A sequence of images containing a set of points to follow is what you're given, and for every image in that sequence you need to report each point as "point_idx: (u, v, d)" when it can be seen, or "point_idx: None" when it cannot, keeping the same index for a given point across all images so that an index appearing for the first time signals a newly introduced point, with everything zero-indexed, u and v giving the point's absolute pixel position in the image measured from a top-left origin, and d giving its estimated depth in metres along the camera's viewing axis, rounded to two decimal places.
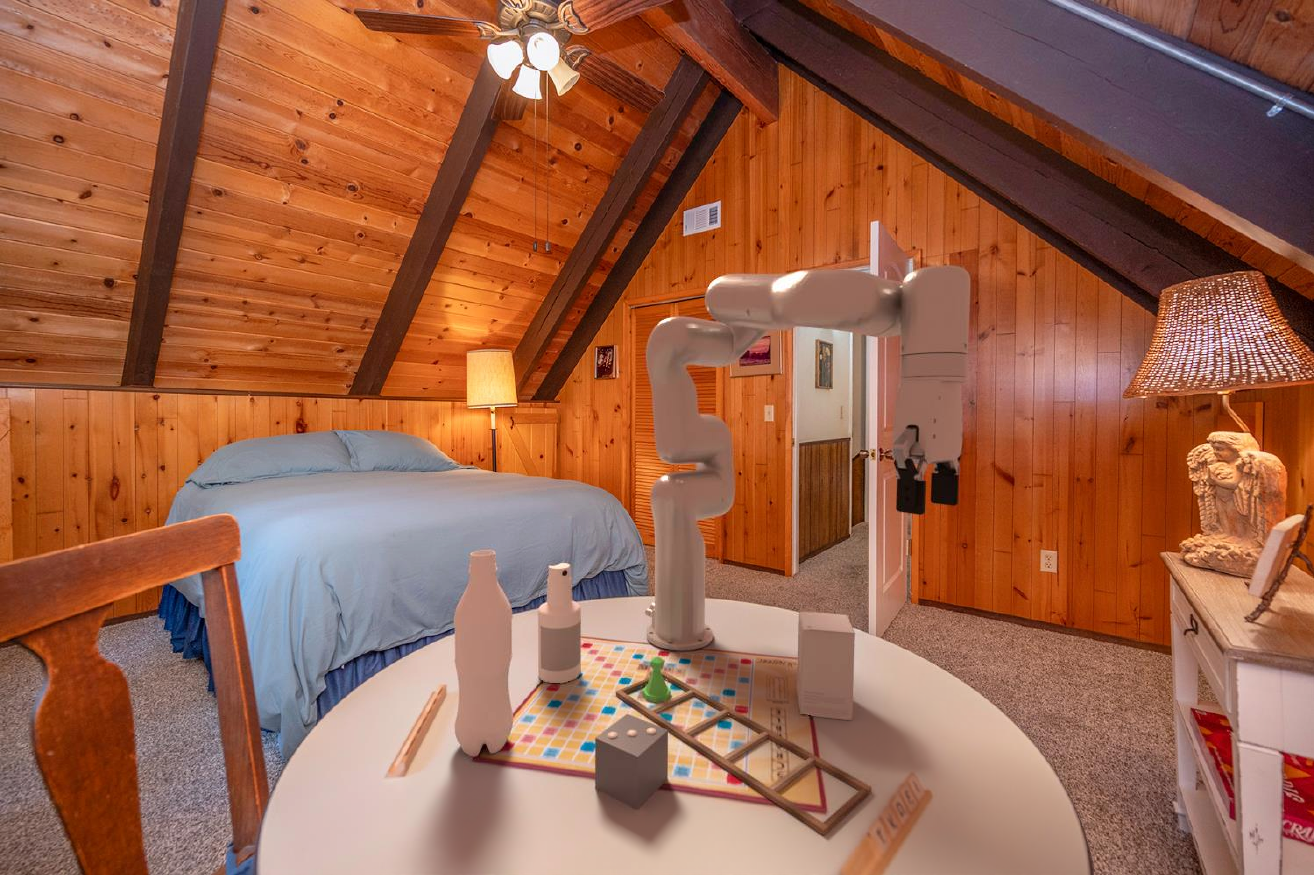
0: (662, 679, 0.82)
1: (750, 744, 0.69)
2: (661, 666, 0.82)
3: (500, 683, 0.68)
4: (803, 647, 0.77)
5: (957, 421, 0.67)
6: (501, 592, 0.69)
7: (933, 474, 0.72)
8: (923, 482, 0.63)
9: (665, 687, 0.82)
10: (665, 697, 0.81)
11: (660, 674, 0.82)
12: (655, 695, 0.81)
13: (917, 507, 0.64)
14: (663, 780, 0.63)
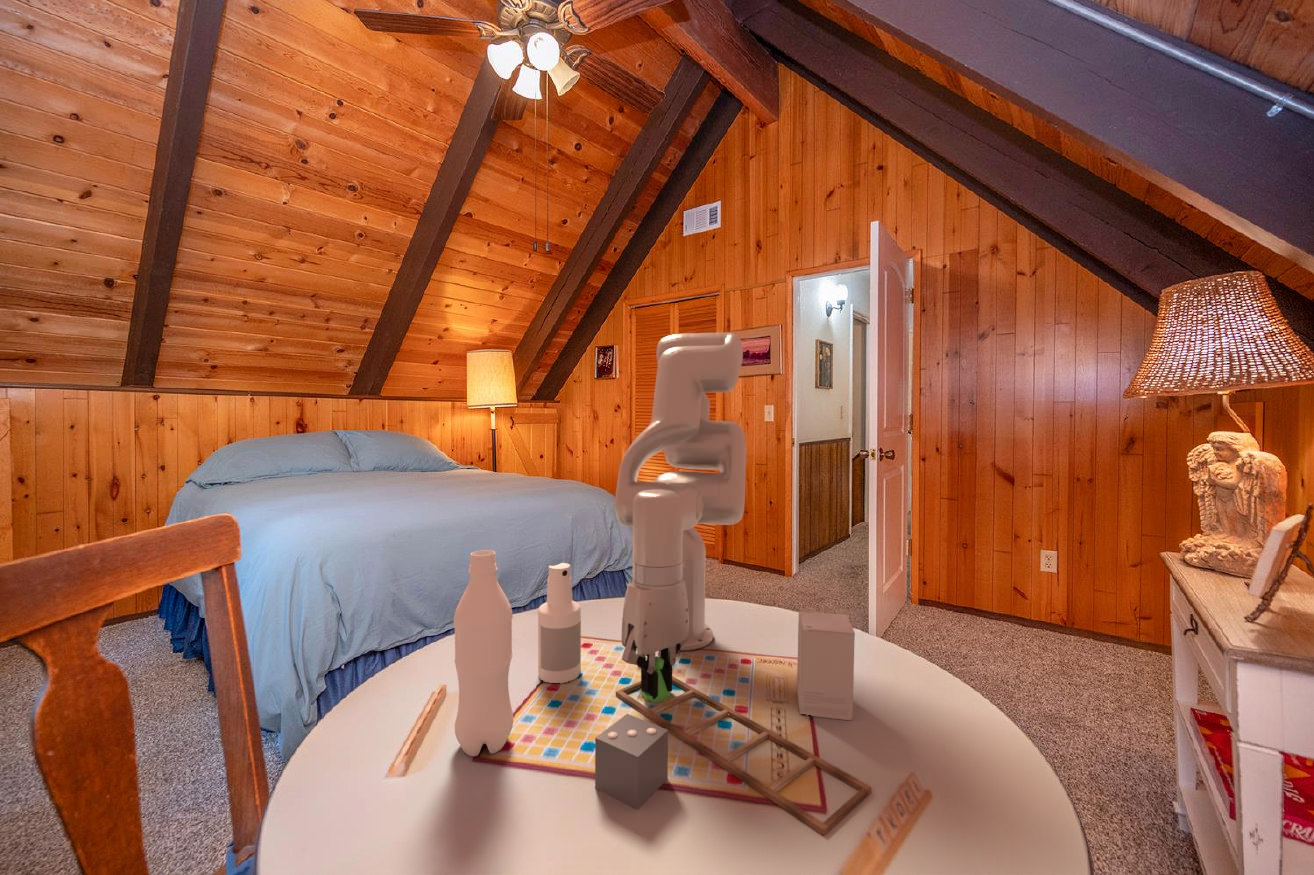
0: (662, 679, 0.82)
1: (750, 744, 0.69)
2: (661, 666, 0.81)
3: (500, 683, 0.68)
4: (803, 647, 0.77)
5: (676, 614, 0.81)
6: (501, 592, 0.69)
7: None
8: (654, 674, 0.80)
9: (665, 687, 0.82)
10: (665, 697, 0.81)
11: (660, 674, 0.82)
12: None
13: (651, 692, 0.81)
14: (663, 780, 0.63)
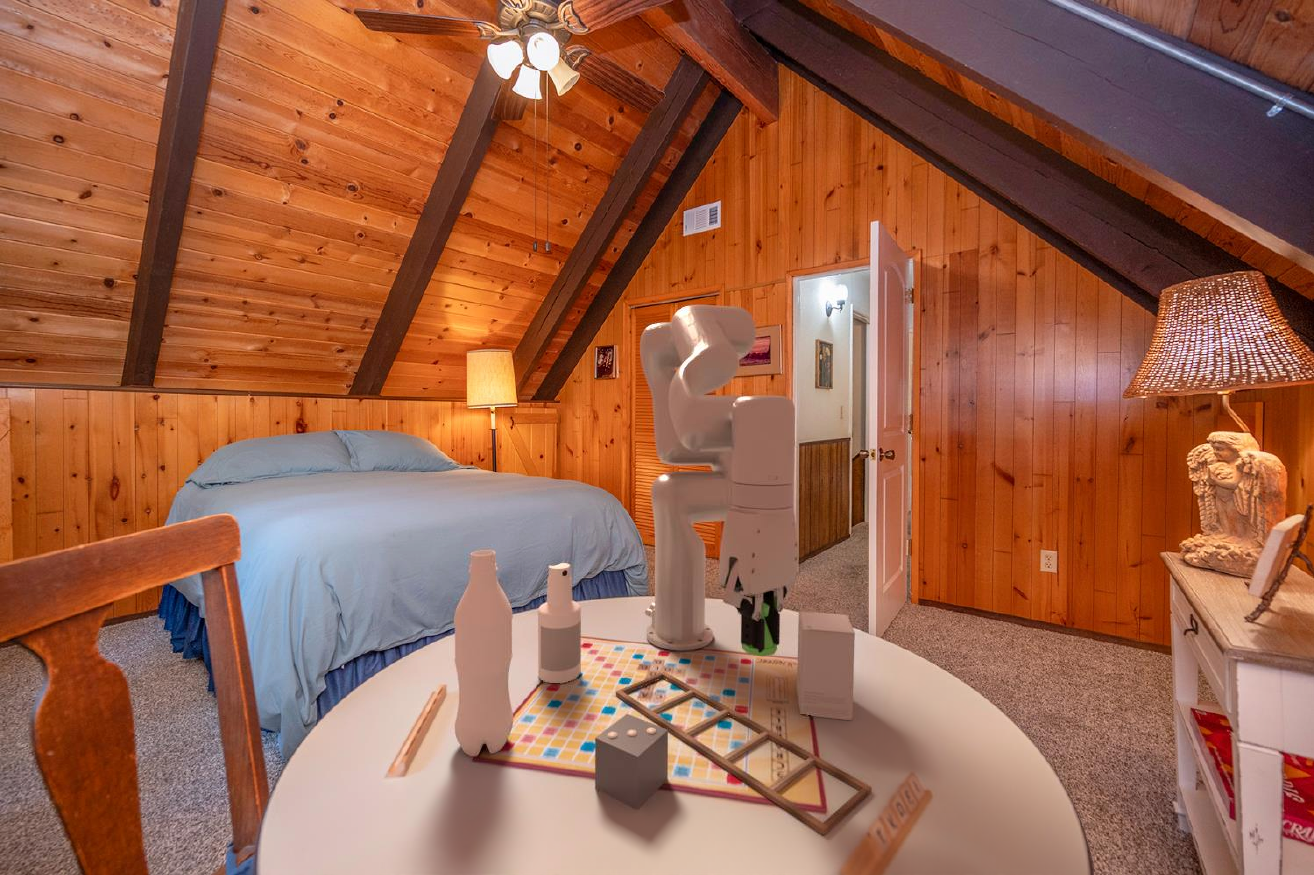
0: (767, 629, 0.66)
1: (750, 744, 0.69)
2: (766, 612, 0.66)
3: (500, 683, 0.68)
4: (803, 647, 0.77)
5: (786, 548, 0.66)
6: (501, 592, 0.69)
7: None
8: (761, 621, 0.65)
9: (771, 639, 0.66)
10: (772, 650, 0.65)
11: None
12: None
13: (757, 644, 0.65)
14: (663, 780, 0.63)
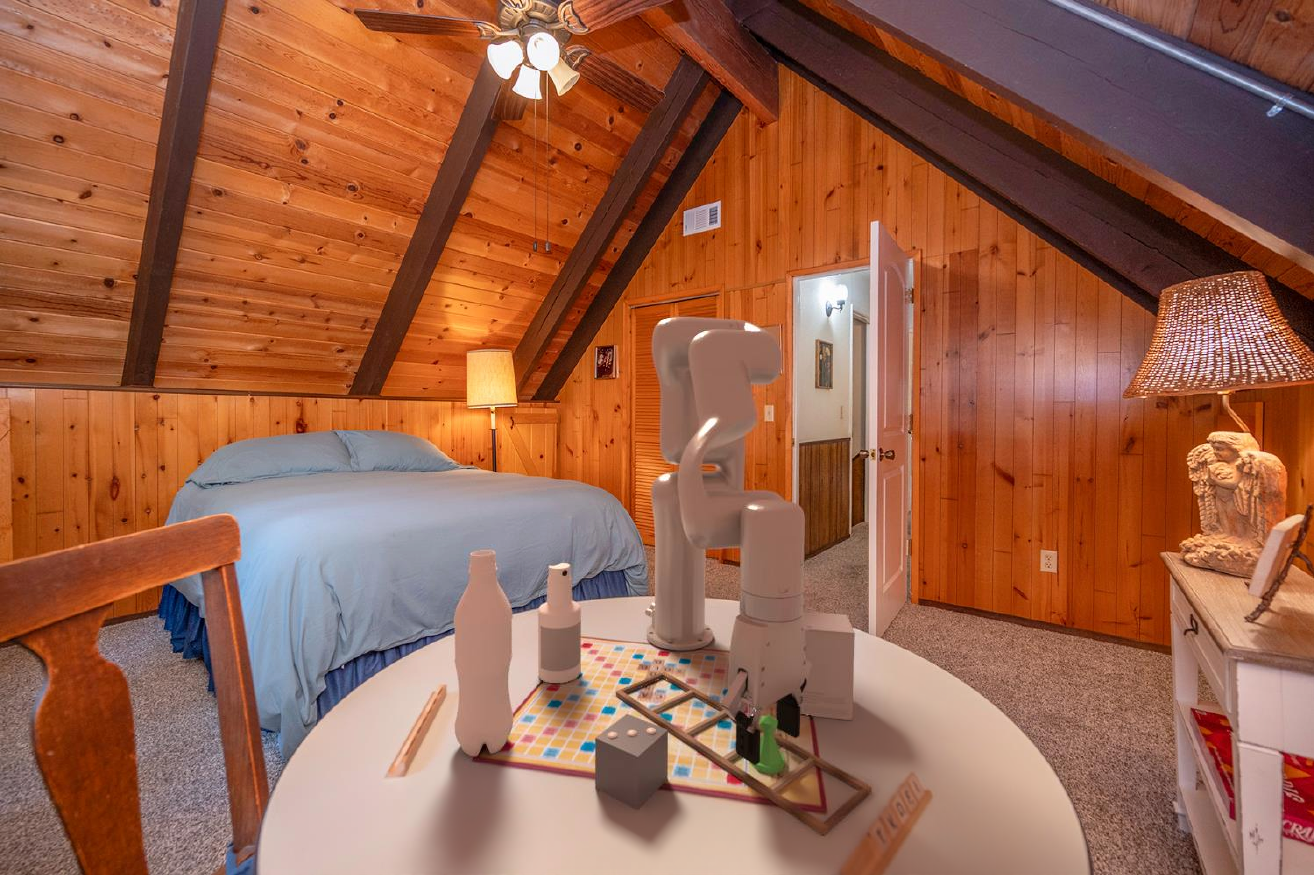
0: (775, 744, 0.66)
1: None
2: (775, 728, 0.66)
3: (500, 683, 0.68)
4: None
5: (795, 655, 0.65)
6: (501, 592, 0.69)
7: (778, 700, 0.70)
8: (756, 733, 0.62)
9: (779, 754, 0.66)
10: (781, 767, 0.65)
11: (773, 738, 0.66)
12: (769, 765, 0.65)
13: (752, 756, 0.63)
14: (663, 780, 0.63)
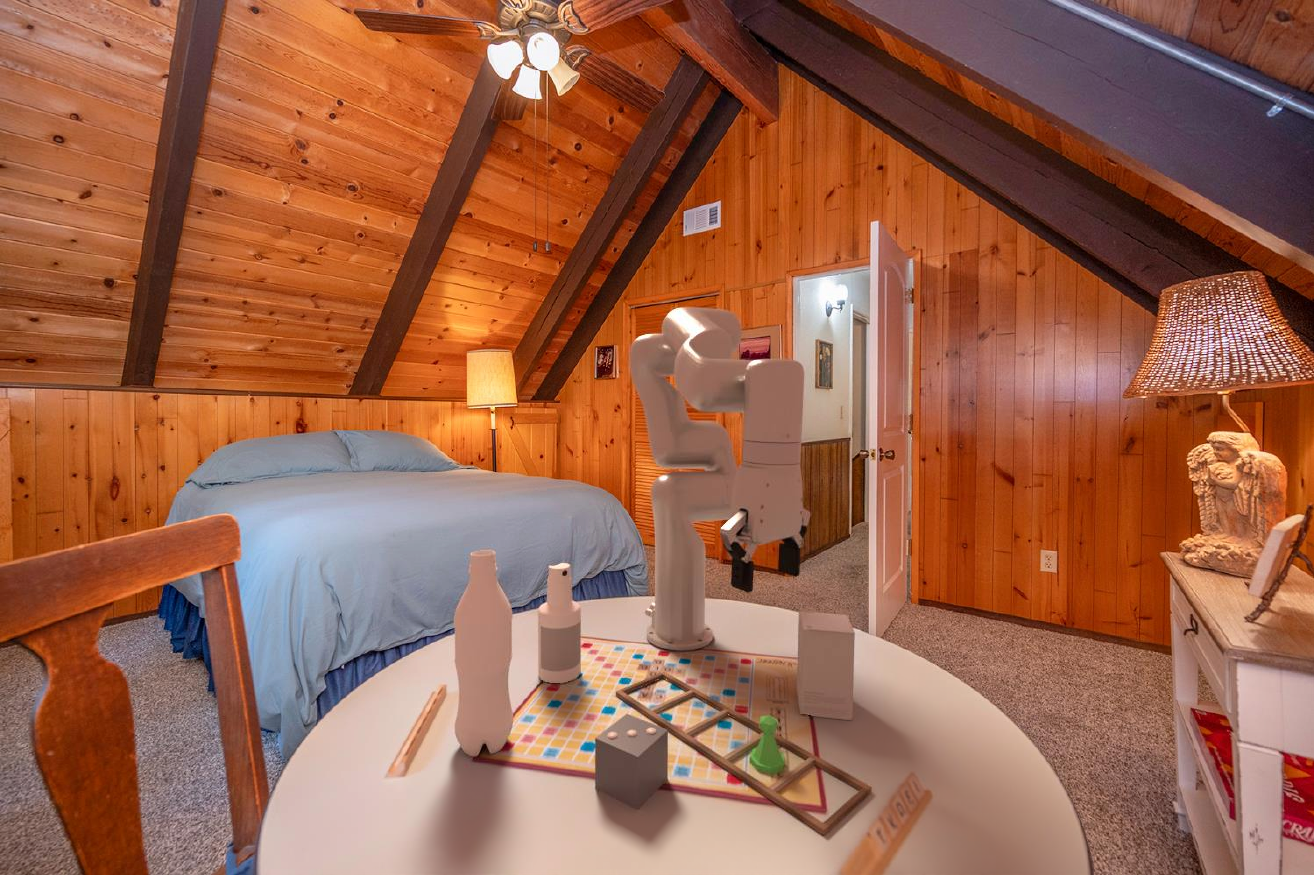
0: (775, 744, 0.66)
1: (750, 744, 0.69)
2: (775, 728, 0.66)
3: (500, 683, 0.68)
4: (803, 647, 0.77)
5: (792, 502, 0.71)
6: (501, 592, 0.69)
7: (780, 545, 0.76)
8: (750, 563, 0.68)
9: (779, 754, 0.66)
10: (781, 767, 0.65)
11: (773, 738, 0.66)
12: (769, 765, 0.65)
13: (746, 585, 0.69)
14: (663, 780, 0.63)
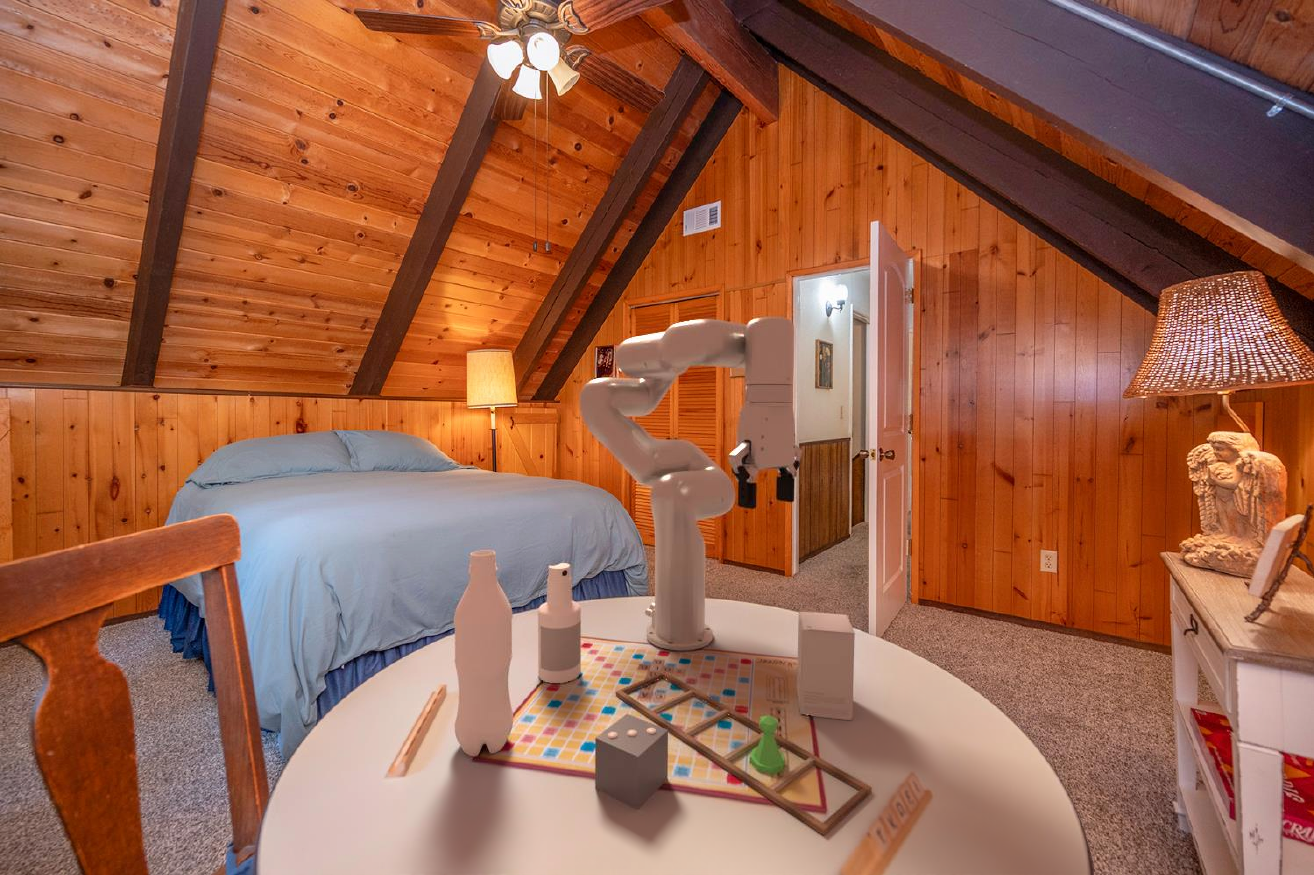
0: (775, 744, 0.66)
1: (750, 744, 0.69)
2: (775, 728, 0.66)
3: (500, 683, 0.68)
4: (803, 647, 0.77)
5: (787, 436, 0.86)
6: (501, 592, 0.69)
7: (777, 477, 0.91)
8: (754, 484, 0.82)
9: (779, 754, 0.66)
10: (781, 767, 0.65)
11: (773, 738, 0.66)
12: (769, 765, 0.65)
13: (750, 503, 0.83)
14: (663, 780, 0.63)
